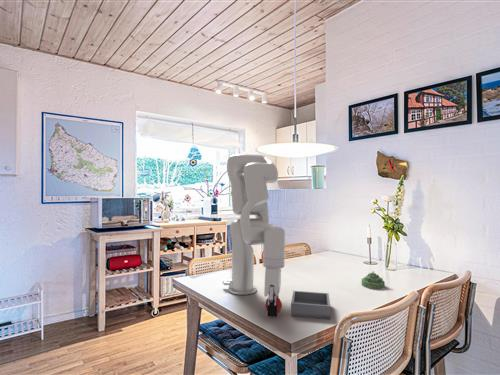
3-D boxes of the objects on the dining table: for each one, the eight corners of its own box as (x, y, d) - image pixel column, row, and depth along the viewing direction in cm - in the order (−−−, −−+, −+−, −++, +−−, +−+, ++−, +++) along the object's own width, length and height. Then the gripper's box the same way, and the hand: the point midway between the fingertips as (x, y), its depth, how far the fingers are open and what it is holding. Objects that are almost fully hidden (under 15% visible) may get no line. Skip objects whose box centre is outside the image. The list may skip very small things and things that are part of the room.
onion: (274, 320, 107) (275, 297, 107) (261, 315, 111) (262, 293, 111) (284, 315, 111) (285, 293, 111) (271, 310, 115) (272, 289, 115)
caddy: (291, 315, 111) (291, 303, 111) (293, 302, 124) (293, 290, 124) (330, 319, 108) (330, 306, 108) (328, 304, 122) (328, 293, 122)
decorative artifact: (357, 283, 149) (370, 290, 140) (357, 269, 149) (370, 274, 140) (375, 282, 152) (389, 288, 142) (375, 267, 152) (389, 273, 142)
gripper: (266, 256, 120) (266, 303, 120) (259, 267, 103) (258, 322, 103) (286, 257, 119) (285, 304, 119) (282, 268, 102) (281, 324, 102)
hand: (273, 312), depth 111 cm, fingers closed on onion, 5 cm apart
